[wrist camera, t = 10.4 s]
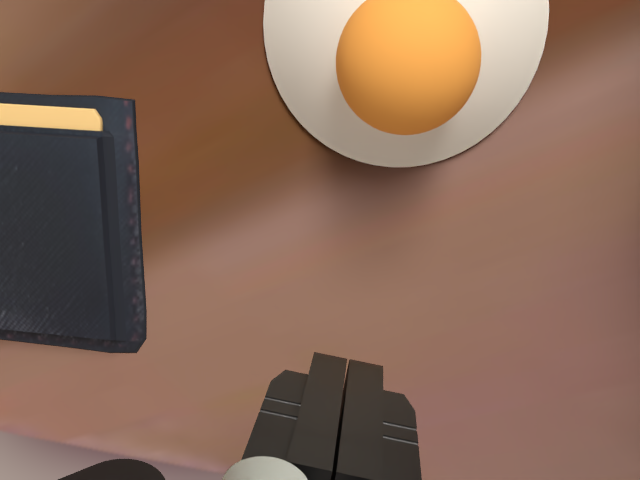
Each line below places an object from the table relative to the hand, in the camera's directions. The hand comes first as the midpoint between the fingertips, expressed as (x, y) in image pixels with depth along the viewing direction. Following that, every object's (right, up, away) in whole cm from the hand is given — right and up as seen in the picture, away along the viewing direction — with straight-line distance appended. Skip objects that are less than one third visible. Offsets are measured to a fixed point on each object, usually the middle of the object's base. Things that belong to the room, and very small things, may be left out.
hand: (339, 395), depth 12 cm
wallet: (-20, +5, +20) cm, 28 cm away
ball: (+3, +11, +11) cm, 16 cm away
